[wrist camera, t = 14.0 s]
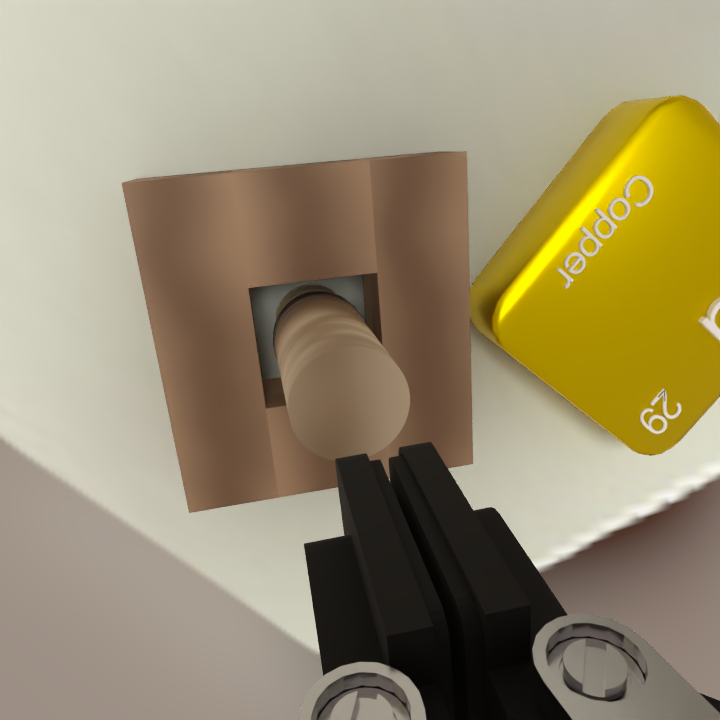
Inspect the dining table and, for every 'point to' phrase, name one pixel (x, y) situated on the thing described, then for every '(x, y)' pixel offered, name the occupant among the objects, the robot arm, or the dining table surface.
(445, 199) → the board
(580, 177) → the element tile
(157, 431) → the dining table surface
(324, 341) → the peg
